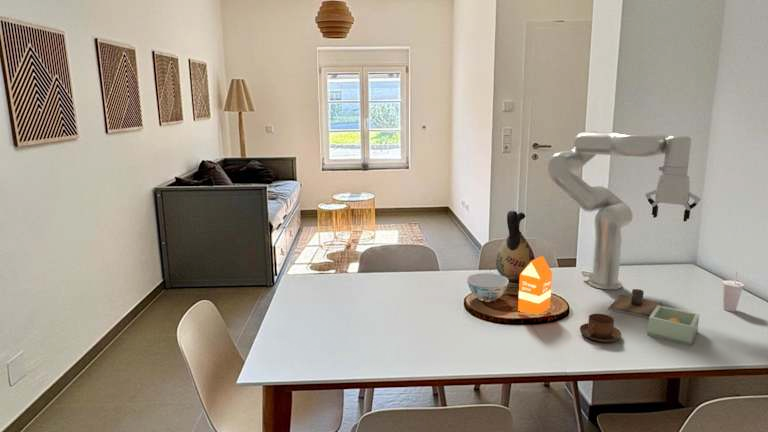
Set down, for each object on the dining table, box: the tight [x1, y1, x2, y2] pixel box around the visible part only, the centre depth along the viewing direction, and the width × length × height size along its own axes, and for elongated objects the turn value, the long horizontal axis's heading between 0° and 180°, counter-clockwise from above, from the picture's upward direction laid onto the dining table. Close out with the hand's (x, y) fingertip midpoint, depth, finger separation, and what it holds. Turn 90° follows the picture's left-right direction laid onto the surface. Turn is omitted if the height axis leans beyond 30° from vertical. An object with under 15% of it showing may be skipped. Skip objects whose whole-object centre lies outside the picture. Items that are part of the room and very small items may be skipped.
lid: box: [609, 288, 664, 317], centre depth 184 cm, size 14×14×6 cm
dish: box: [646, 305, 701, 347], centre depth 164 cm, size 12×12×6 cm
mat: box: [607, 304, 666, 320], centre depth 184 cm, size 15×15×1 cm
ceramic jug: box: [495, 210, 536, 286], centre depth 208 cm, size 17×15×30 cm
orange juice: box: [517, 255, 553, 315], centre depth 179 cm, size 8×9×20 cm
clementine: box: [668, 318, 680, 323], centre depth 164 cm, size 4×4×4 cm
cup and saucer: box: [579, 313, 622, 343], centre depth 162 cm, size 12×12×6 cm
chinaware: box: [466, 272, 509, 300], centre depth 193 cm, size 15×15×8 cm
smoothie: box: [721, 270, 745, 313], centre depth 181 cm, size 6×6×14 cm
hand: (669, 218), depth 186 cm, fingers open, 9 cm apart
